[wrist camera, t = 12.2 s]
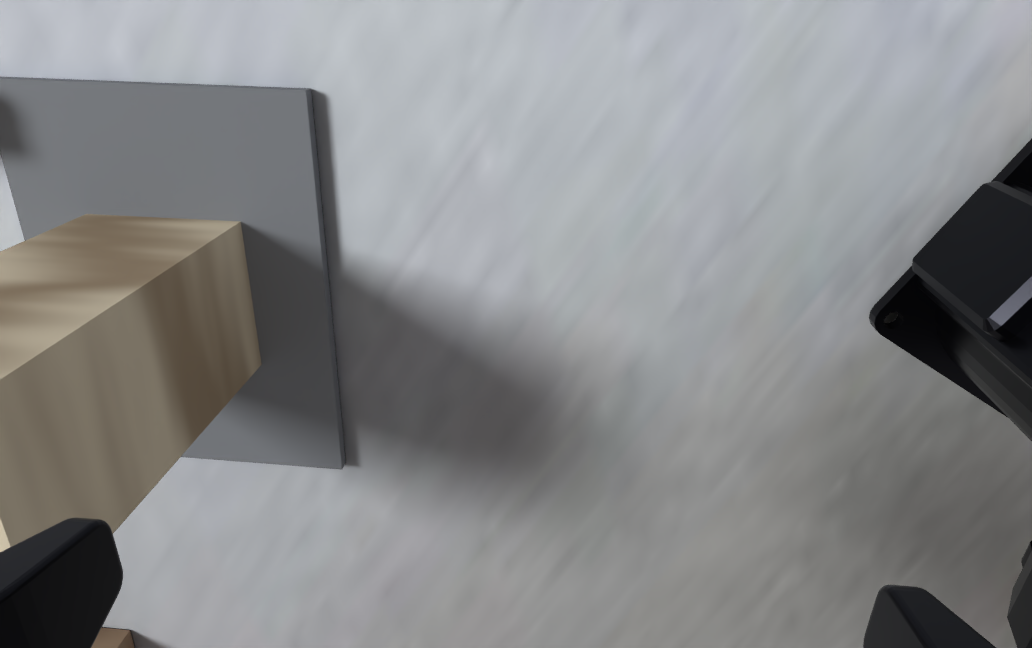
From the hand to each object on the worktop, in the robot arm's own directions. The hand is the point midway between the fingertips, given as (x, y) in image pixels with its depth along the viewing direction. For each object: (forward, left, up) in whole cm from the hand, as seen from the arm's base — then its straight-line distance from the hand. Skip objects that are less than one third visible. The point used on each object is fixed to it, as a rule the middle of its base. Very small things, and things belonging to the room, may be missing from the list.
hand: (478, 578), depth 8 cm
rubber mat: (+8, +7, -13) cm, 17 cm away
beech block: (+8, +7, -13) cm, 17 cm away
